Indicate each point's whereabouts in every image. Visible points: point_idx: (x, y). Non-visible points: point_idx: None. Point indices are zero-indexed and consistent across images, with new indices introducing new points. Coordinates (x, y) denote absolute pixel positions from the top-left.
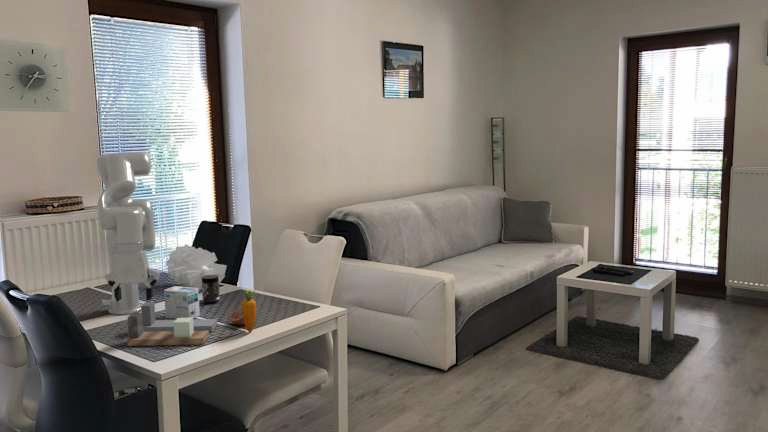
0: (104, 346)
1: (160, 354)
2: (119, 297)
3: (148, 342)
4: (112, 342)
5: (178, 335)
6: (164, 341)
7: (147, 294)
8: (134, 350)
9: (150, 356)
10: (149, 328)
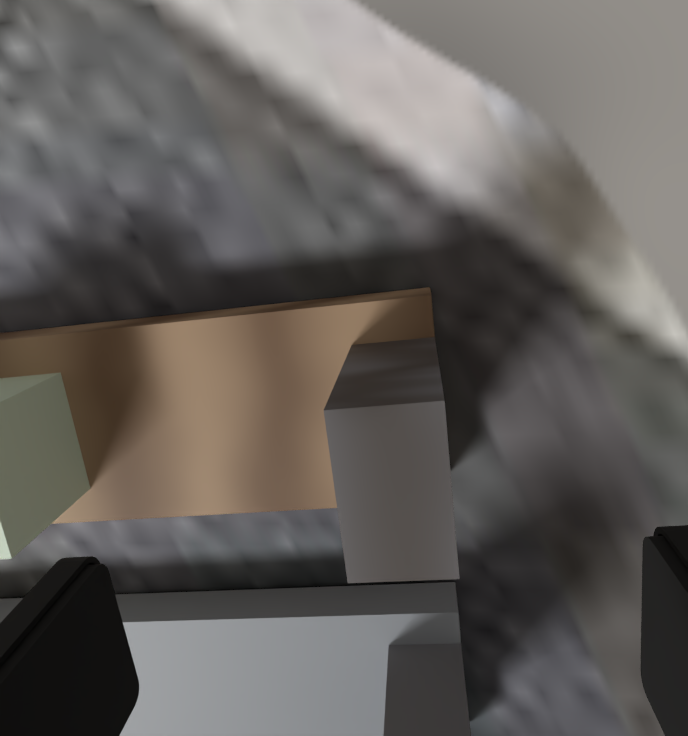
0: (635, 277)
1: (73, 111)
2: (665, 626)
3: (255, 310)
4: (604, 378)
5: (18, 378)
6: (128, 323)
7: (10, 633)
8: (328, 192)
9: (126, 54)
10: (387, 606)
